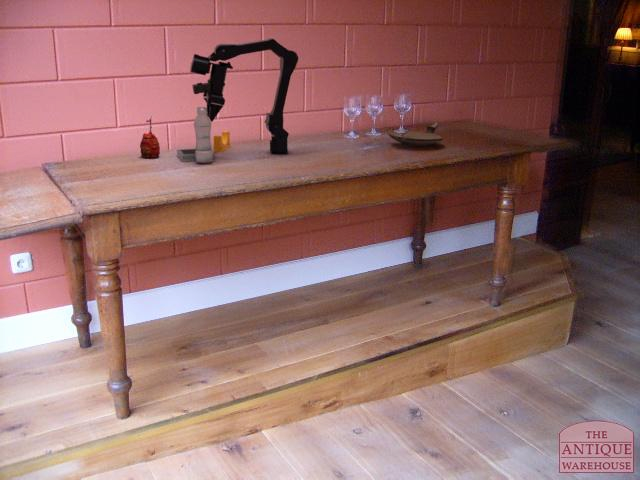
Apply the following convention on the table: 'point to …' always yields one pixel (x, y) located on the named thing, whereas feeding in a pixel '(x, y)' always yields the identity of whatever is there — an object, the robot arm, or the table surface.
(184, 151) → the tray
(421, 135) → the oil lamp
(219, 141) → the orange stepped block
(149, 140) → the red clay folk toy
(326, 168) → the table surface
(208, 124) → the plastic bottle
